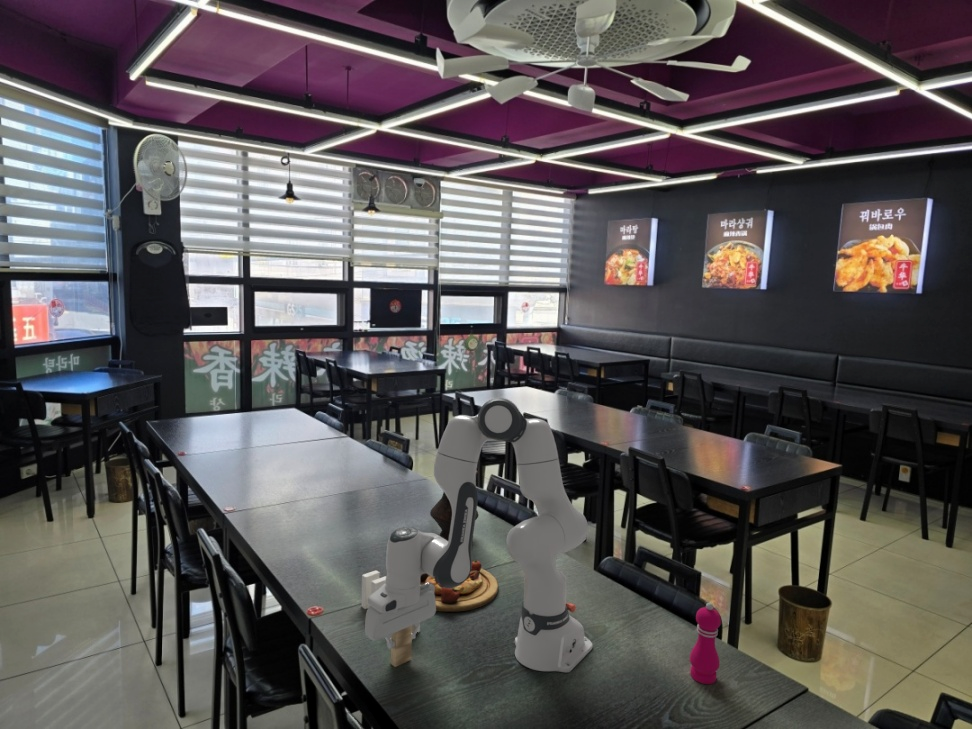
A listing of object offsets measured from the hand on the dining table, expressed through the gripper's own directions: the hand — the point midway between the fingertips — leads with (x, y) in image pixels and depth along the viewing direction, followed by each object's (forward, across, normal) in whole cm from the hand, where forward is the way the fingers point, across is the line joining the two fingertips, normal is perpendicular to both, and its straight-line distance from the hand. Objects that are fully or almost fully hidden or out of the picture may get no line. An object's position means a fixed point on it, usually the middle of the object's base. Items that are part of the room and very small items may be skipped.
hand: (401, 642), depth 162 cm
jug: (+5, -63, -51) cm, 81 cm away
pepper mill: (+5, -55, +55) cm, 78 cm away
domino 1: (+5, -10, -29) cm, 31 cm away
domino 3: (+5, 0, 0) cm, 5 cm away
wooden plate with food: (+6, -36, -22) cm, 42 cm away
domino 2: (+5, -10, -24) cm, 26 cm away
